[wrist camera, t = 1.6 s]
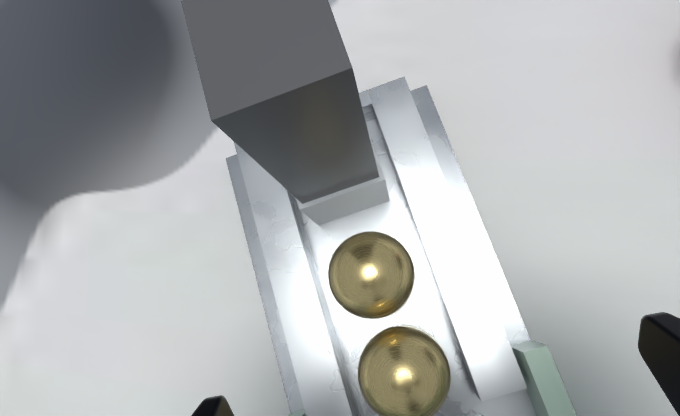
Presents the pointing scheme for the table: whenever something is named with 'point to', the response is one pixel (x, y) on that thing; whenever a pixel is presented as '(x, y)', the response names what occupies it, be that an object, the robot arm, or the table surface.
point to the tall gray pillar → (288, 99)
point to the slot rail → (428, 258)
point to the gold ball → (404, 373)
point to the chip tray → (536, 380)
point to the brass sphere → (371, 275)
